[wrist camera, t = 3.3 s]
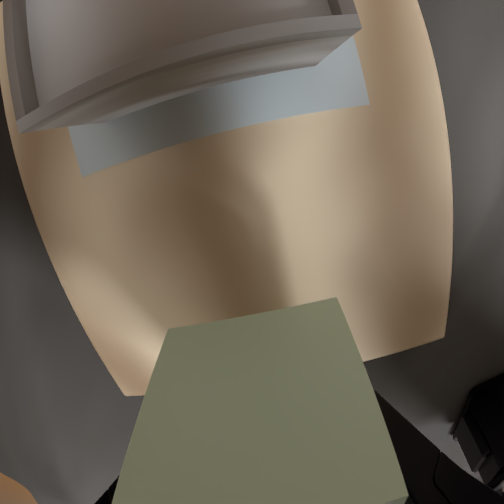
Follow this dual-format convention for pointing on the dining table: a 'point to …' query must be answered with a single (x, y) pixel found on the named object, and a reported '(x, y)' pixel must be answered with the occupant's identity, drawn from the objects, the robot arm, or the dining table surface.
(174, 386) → the sage block
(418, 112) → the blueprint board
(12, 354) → the dining table surface
